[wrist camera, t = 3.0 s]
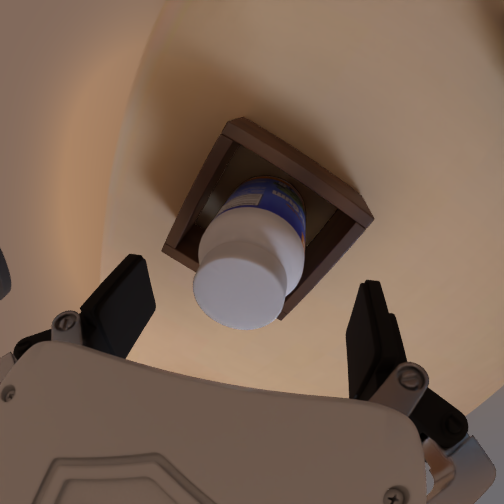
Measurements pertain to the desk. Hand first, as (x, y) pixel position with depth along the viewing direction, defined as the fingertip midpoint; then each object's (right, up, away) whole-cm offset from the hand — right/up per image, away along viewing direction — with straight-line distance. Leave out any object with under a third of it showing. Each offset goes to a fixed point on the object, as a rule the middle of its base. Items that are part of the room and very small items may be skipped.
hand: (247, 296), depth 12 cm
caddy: (+1, +5, +8) cm, 10 cm away
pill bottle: (+1, +5, +8) cm, 10 cm away
